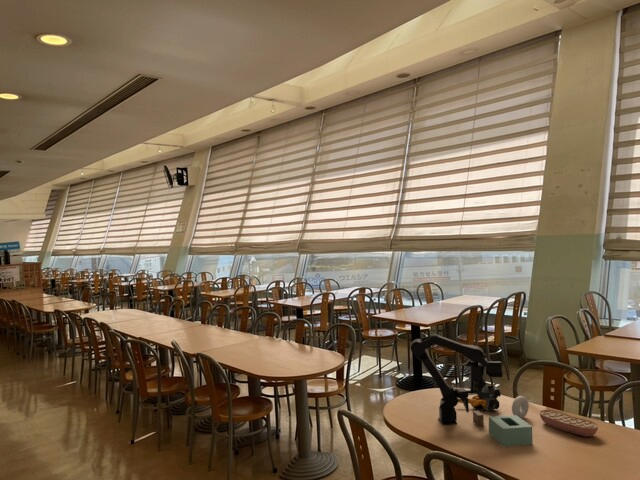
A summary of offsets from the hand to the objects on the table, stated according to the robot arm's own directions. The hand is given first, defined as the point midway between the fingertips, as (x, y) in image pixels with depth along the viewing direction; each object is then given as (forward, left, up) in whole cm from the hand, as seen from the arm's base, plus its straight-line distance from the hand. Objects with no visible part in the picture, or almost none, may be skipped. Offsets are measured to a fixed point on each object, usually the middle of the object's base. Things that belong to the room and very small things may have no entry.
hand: (477, 411), depth 203 cm
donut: (+21, +3, -6) cm, 22 cm away
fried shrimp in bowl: (+8, +17, -6) cm, 20 cm away
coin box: (+6, -16, -5) cm, 18 cm away
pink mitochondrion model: (+34, -12, -6) cm, 36 cm away
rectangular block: (0, 0, -5) cm, 5 cm away
